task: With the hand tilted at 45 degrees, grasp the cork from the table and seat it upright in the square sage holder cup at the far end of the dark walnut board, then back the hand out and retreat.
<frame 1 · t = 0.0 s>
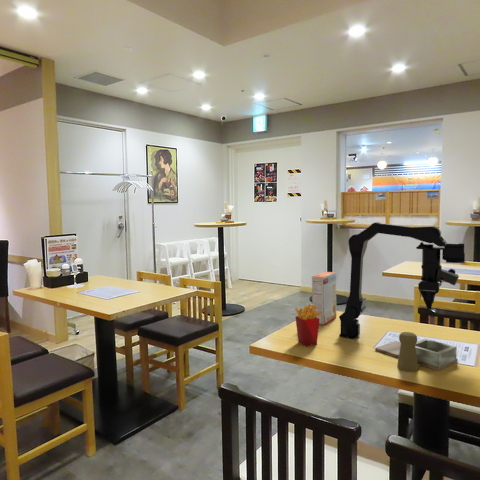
hand: (430, 306, 139), 15 cm above the table, tool pointing down, fingers open, 9 cm apart
cork: (407, 368, 123), on the table
french fries: (310, 344, 146), on the table
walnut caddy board: (431, 361, 127), on the table
cracker box: (324, 321, 176), on the table
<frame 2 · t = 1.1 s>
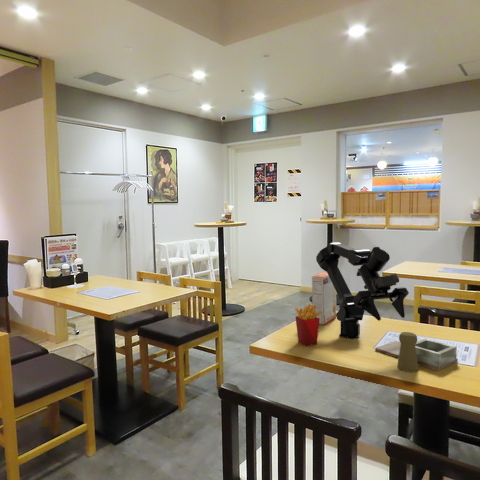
hand: (391, 318, 129), 13 cm above the table, tool tilted 45°, fingers open, 9 cm apart
nothing on the table moved.
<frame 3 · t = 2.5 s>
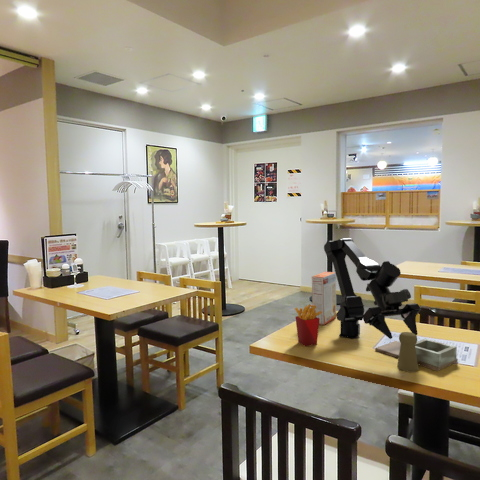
hand: (404, 336, 124), 9 cm above the table, tool tilted 45°, fingers open, 9 cm apart
nothing on the table moved.
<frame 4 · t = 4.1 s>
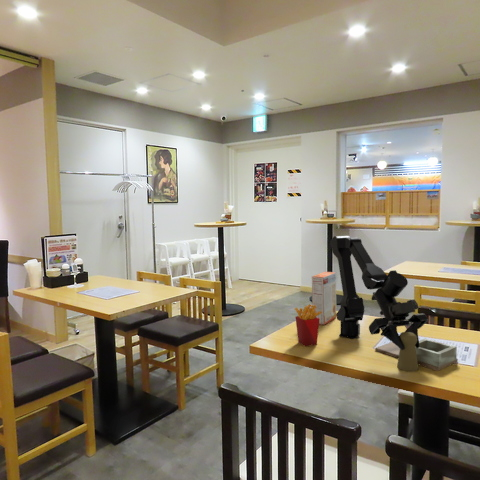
hand: (411, 348, 121), 7 cm above the table, tool tilted 45°, fingers closed on cork, 5 cm apart
cork: (407, 368, 123), on the table, touching gripper
everything else where it was.
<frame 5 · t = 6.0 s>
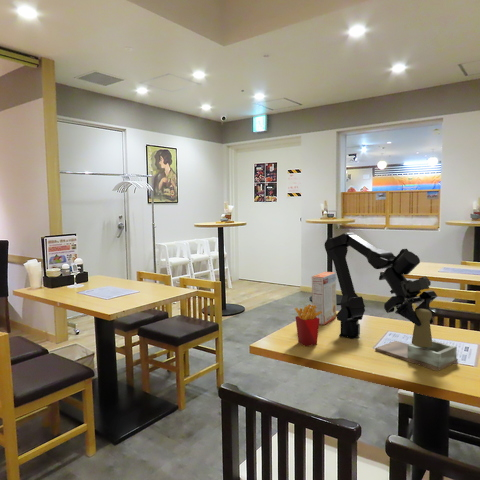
hand: (426, 324, 123), 13 cm above the table, tool tilted 45°, fingers closed on cork, 5 cm apart
cork: (421, 344, 124), point 6 cm above the table, touching gripper
everything else where it was.
when the fingers open (9 cm above the table, at t = 7.9 s): cork drops 1 cm, resting on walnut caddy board.
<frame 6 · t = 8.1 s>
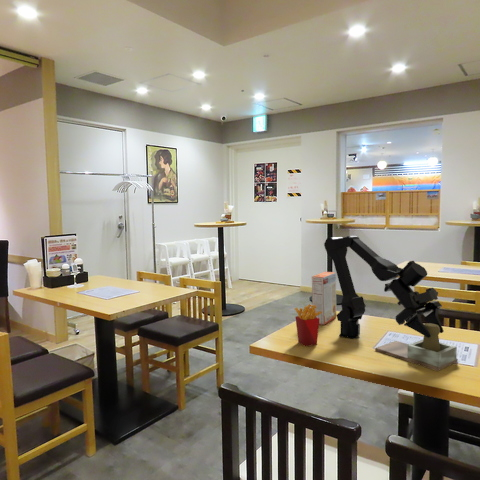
hand: (436, 334, 125), 9 cm above the table, tool tilted 45°, fingers open, 7 cm apart
cork: (431, 358, 127), point 1 cm above the table, touching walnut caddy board
everything else where it was.
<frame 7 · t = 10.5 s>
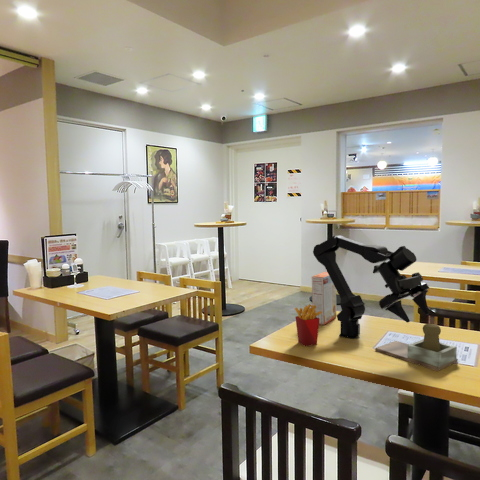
hand: (418, 318, 131), 13 cm above the table, tool tilted 40°, fingers open, 9 cm apart
nothing on the table moved.
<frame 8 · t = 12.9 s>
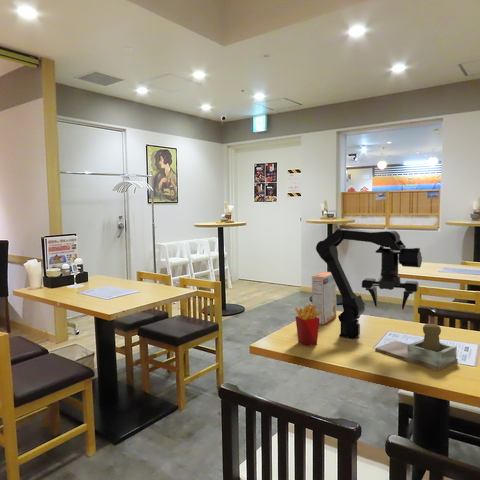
hand: (389, 308, 144), 13 cm above the table, tool pointing down, fingers open, 9 cm apart
nothing on the table moved.
at the end: cork 0.1 cm off-centre on the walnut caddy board, point 0.8 cm above the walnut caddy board's base; cork tilted 0°; the gripper is holding nothing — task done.
